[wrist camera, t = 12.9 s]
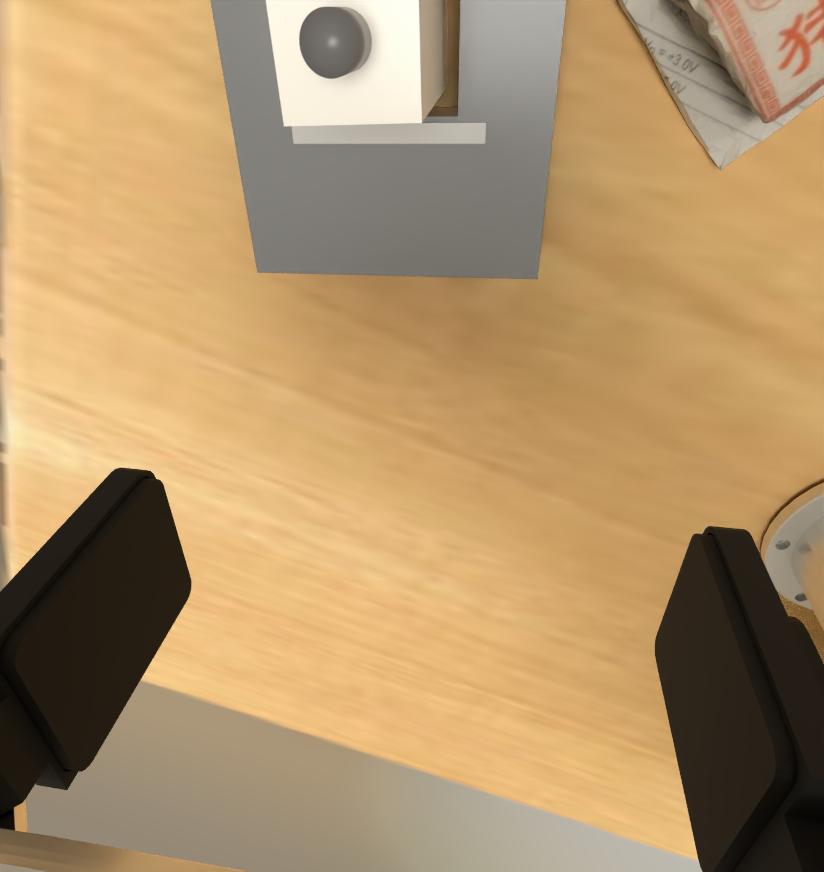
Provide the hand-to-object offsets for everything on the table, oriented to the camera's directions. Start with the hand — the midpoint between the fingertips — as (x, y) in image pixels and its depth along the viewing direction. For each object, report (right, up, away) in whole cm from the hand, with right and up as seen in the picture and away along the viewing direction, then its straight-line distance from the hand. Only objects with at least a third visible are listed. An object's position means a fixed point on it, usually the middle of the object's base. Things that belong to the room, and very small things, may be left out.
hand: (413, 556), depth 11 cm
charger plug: (-1, +20, +16) cm, 25 cm away
